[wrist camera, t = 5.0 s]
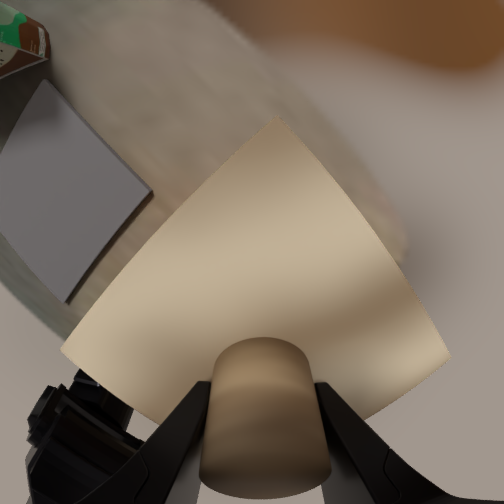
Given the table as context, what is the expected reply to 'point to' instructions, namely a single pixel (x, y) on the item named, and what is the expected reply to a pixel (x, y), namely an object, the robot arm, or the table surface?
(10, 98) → the table surface
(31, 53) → the food container
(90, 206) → the mat
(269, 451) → the lid
